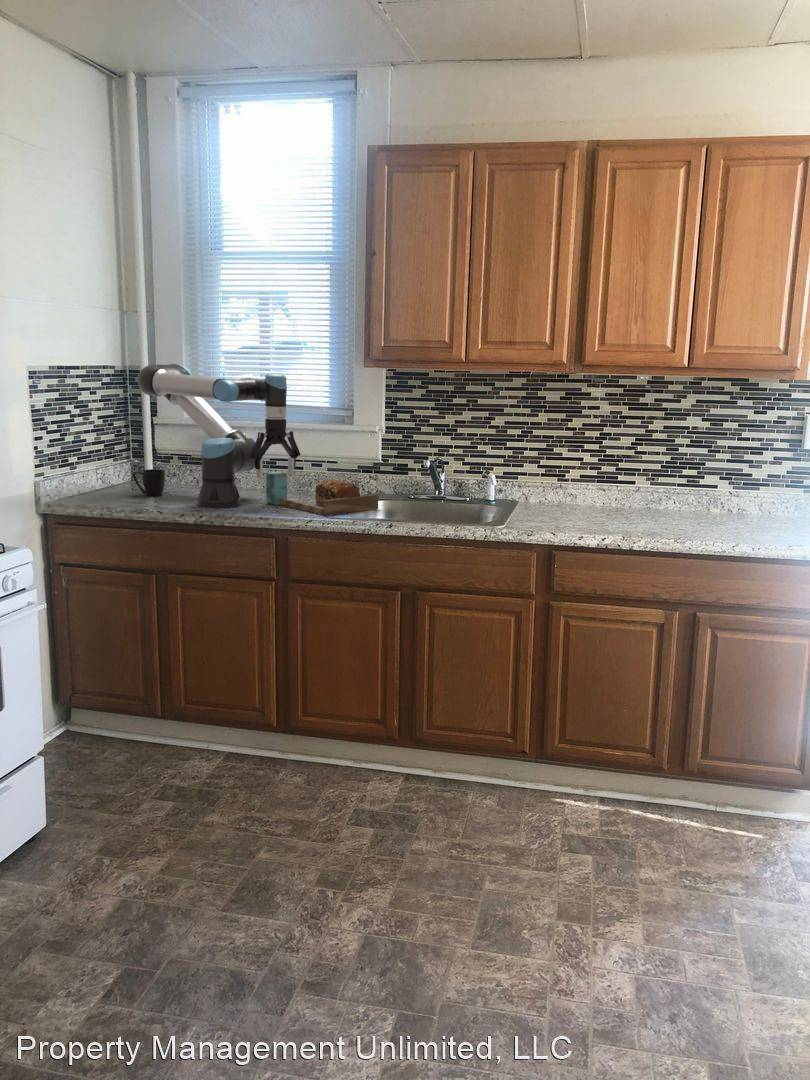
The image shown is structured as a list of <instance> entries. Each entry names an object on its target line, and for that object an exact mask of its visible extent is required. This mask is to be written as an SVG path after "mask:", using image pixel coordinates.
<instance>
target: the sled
mask: <svg viewBox="0 0 810 1080" xmlns="http://www.w3.org/2000/svg"><path fill="white" fill-rule="evenodd" d="M265 479H266V480H265V483H266V484H265V485H266V487H265V488H266V489H265V492H266V493H265V495H266V498H265V499H266V503H268V504H270V505H271V504H272V505H275V506H277V505H280V506H285V507H290V508H293V509H296V510H297V509H298V510H301V509H302V511H305V510H306V511H307V512H309V511H310V512H309V513H313V512H314V513H313V514H317V513H318V515H321V514H322V516H325V515H326V516H332V515H331V514H333V515H338V514H339V515H340V513H341V514H347V513H354V512H363V511H369V510H377V509H379V494H377V493H375V494H369V495H360V496H358V497H349V498H341V499H332V500H324V501H323V507H321V506H317V505H311V504H308V503H304V502H299V501H294V500H290V499H288V472H287V473H285V472H281V471H269V472H266V473H265ZM306 511H305V512H306Z"/></svg>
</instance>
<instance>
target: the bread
mask: <svg viewBox="0 0 810 1080" xmlns="http://www.w3.org/2000/svg"><path fill="white" fill-rule="evenodd" d="M314 492H315V495H314V497H315V503H316V505H317V504H318V505H317V506H319V507H321V508H323V501H324V500H332V499H341V498H349V497H358V496H361V493H360V488H359V487H358V486H357V485H356V484H355V483H352V482H349V481H346V480H340V479H326V480H321V482H320V483H318V484H317V485H316V486H315V491H314Z"/></svg>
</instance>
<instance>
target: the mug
mask: <svg viewBox="0 0 810 1080" xmlns="http://www.w3.org/2000/svg"><path fill="white" fill-rule="evenodd" d="M136 474H140V475H142V483H143V486H144V488H143V487H142V486H141V484H140V483H139V481H138V480H137V476H136ZM132 478H133V481H134V483H136V485H137V487H138V488H139V490H140V491H141V492H142V493H143V494H144V495H146V497H150V498H155V497H156V498H157V497H162V496H163V493H164V489H165V483H166V470H164V469H159V468H158V469H157V468H156V469H155V468H152V469H150V468H149V469H145V470H144V469H143V470H142V471H134V472H133V473H132Z"/></svg>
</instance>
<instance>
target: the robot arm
mask: <svg viewBox="0 0 810 1080" xmlns="http://www.w3.org/2000/svg"><path fill="white" fill-rule="evenodd" d="M264 377H265V379H262V378H261V379H260V378H251V377H245V378H238V379H232V378H230V379H229V378H222V377H221V378H220V377H219V378H218V377H210V376H202V375H201V376H200V375H193V374H192V372H191V371H190V370H189V368H188V367H186V366H184V365H182V364H177V363H171V364H149V365H147V366H144V367H143V368H142V369H141V370H140V371H139V373H138V374H137V385H138V388H139V390H140V391H141V392H142V393H144V394H145V395H147V396H151V397H164V398H166V400H168V402H169V403H171V405H174V406H179V408H181V409H182V411H184V413H185V414H186V415H187V416H188V417H189V418H190V419H191V420H192V421H193V422H194V423H195V424H196V425H197V426H198V428H199V429H201V430H202V432H203V433H205V435H206V436H207V437H208V438H209V439H206V440H204V441H203V443H201V451H200V455H201V459H200V460H201V481H202V482H201V486H200V491H199V493H198V496H197V505H198V506H199V507H203V506H205V507H204V508H213V507H223V508H231V507H237V506H240V505H241V497H240V493H239V489H238V487H237V485H236V473H242V472H250V471H252V470H254V469H255V470H256V478H257V479H260V480H261V479H263V475H264V474H263V473H264V469H263V468H264V467H263V466H264V465H263V463H264V461H263V457H264V455H265V454H266V452H267V451H268V449H269V448H270V447H272V445H281V446H282V448H284V450H285V452H286V453H287V455H289V457H287V476H291V477H294V476H295V467H296V462H297V458H298V457H300V456H301V452H300V450H299V447H298V443H297V442H296V439H295V437H294V431H293V430H287V431H286V429H287V419H286V417H287V392H288V386H287V377H286V375H284V374H270V373H269V374H266V375H265V376H264ZM206 399H209V400H217V401H219V402H223V403H224V402H225V403H232V402H238V401H240V402H241V401H242V402H243V401H264V403H265V404H264V405H265V409H264V411H265V412H264V417H265V420H264V421H265V423H264V424H265V425H264V427H265V432H261V431H259V432H257V437H256V438H251V437H250V438H249V437H247V436H246V435H245V434H244V433H243V432H242V431H240V429H233V428H232V427H231V426H230V424H229V423H228V422H227V421H226V420H225V419H224V418H223V417H222V416H221V415H220V414H219V413H218V412H217V411H216V410H215V409H214V407H212V406H211V405H210V404H209V402H207V401H206Z"/></svg>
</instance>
